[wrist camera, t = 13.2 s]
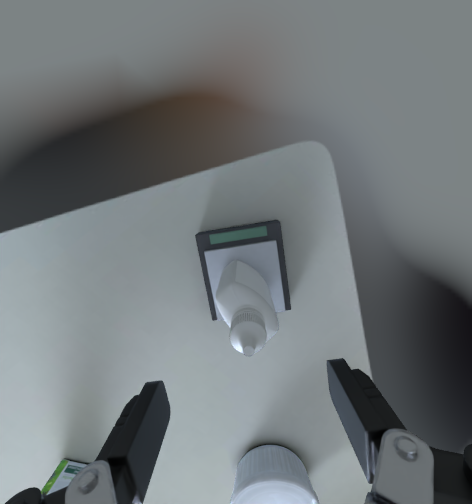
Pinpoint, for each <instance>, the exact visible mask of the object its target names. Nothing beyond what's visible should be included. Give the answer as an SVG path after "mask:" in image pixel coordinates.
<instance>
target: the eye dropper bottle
mask: <svg viewBox="0 0 472 504" xmlns="http://www.w3.org/2000/svg"><path fill="white" fill-rule="evenodd" d="M215 297H216V304H217V307H218V310H219V312H220V314H221V315H222V317H223V319H224V320H225V322H226V323H227V324H228V325H229V327H230V342H231V344H232V345H233V347H234V348H235V349H236V350H237V351H239V352H241V353H244V355H245V356H252V355H253V354H254V353H256V352H258V351H260V350H261V349H262V348H263V347H264V345H265V344H266V341H268V340H269V339H270V338H272V337H273V336H274V335H275V334H276V333H277V331H278V329H279V323H278V318H277V315H276V311H275V307H274V304H273V300H272V297H271V293H270V290H269V288H268V286H267V284H266V282H265V280H264V279H263V277H262V276H261V275H260V274H259V273H258V272H257V271H256V270H255V269H254V268H252V267H251V266H250V265H248V264H246V263H244V262H242V261H239V260H234V261H232V262H231V263H230V264H229V265H227V266H226V267H225V268H224V269H223V271H222V274H221V277H220V280H219V284H218V288H217V292H216V296H215Z"/></svg>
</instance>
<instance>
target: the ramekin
mask: <svg viewBox="0 0 472 504" xmlns="http://www.w3.org/2000/svg"><path fill="white" fill-rule="evenodd" d="M230 504H319V500H318V497H317V495H316V493H315V491H314V490H313V488H312V485H311V482H310V480H309V477H308V474H307V472H306V469H305V466H304V465H303V463H302V461H301V460H300V459H299V458H298V457H297V456H296V455H295V454H294V453H293V452H292V451H290V450H289V449H287V448H284V447H281V446H278V445H263V446H259V447H256V448H254V449H252V450H251V451H249V452H248V453H247V454H246V455H245V456H244V457H243V458H242V459H241V461H240V462H239V464H238V467H237V471H236V477H235V483H234V489H233V493H232V496H231V499H230Z"/></svg>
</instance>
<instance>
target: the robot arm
mask: <svg viewBox="0 0 472 504" xmlns="http://www.w3.org/2000/svg"><path fill="white" fill-rule="evenodd" d="M327 372H328V383H329V391H330V395H331V399H332V401H333V404H334V406H335V408H336V411H337V413H338V415H339V417H340V420H341V422H342V424H343V426H344V429H345V431H346V433H347V435H348V438H349V440H350V442H351V444H352V447H353V449H354V451H355V453H356V456H357V458H358V460H359V463H360V465H361V467H362V469H363V472H364V474H365V476H366V478H367V481H368V483H369V484H373V485H372V490H371V493H370V492H368V494H367V496H366V500H365V504H472V444H471V445H468V446H467V447H466V448H465V450H464V455H463V454H458V453H453V452H448V451H443V450H439V449H435V448H432V447H429V446H428V445H427V444H426V443H425V442H424V441H423V440H422V439H421V438H419V437H418V436H417V435H415V434H413V433H411V432H409V431H407V429H406V428H405V427H404V425H403V424H402V422H401V421H400V420H399V418H398V417H397V415H396V414H395V413H394V411H393V410H392V408H391V407H390V406H389V405H388V403H387V401H386V400H385V399H384V397H383V396H382V394H381V393H380V391H379V390H378V389H377V388H376V386H375V384H374V383H373V382H372V380H371V379H370V377H369V376H368V375H366V374H365V373H364V372H362V371H361V370H359V369H353V370H351V369H350V367H349V366H348V364H347V363H346V361H345V360H344V359H343V358H342V359H334V360H327ZM169 420H170V405H169V401H168V397H167V393H166V390H165V386H164V383H163V381H153V382H147V383H145V385H144V387H143V389H142V390H141V392H140V394H139V395H135V396H134V397H133V398H132V399H131V400H130V401H129V402H128V403H127V404H126V406H125V408H124V409H123V411H122V413H121V415H120V418H118V420H117V422H116V424H115V427H113V429H112V431H111V433H110V435H109V436H108V438H107V440H106V442H105V444H104V445H103V447H102V449H101V451H100V453H99V455H98V456H97V458H96V460H95V461H94V462H92V463H90V464H88V465H87V466H85V467H84V468H82V469H81V470H80V471H79V472H78V473H77V474H76V475H75V476H74V478H73V479H72V480H71V482H70V483H69V485H68V486H67V487H64V488H62V489H60V490H57V491H55V492H53V493H50V494H48V495H46V496H44V497H43V496H42V493H41V491H40V490H39V489H38V488H35V487H34V488H28V489H26V490H23V491H21V492H19V493H18V494H16V495H15V496H13V497H12V498H11V499H10V500H8V501H7V502H6V503H5V504H143V501H144V498H145V495H146V492H147V489H148V485H149V482H150V479H151V476H152V473H153V470H154V467H155V464H156V460H157V457H158V454H159V451H160V448H161V445H162V442H163V439H164V436H165V432H166V429H167V426H168V423H169Z"/></svg>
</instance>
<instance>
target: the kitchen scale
mask: <svg viewBox="0 0 472 504" xmlns="http://www.w3.org/2000/svg"><path fill="white" fill-rule="evenodd" d="M195 236H196V241H197V246H198V251H199V256H200V261H201V266H202V271H203V276H204V281H205V286H206V290H207V295H208V300H209V305H210V310H211V315H212V320H218V321H219V320H224V319H223V317H222V315H221V314H220V312H219V310H218V307H217V304H216V297H215V296H216V292H217V288H218V284H219V280H220V277H221V274H222V271H223V269H224V268H225V267H226V266H227V265H229V264H230V263H231V262H232V261H234V260H239V261H242V262H244V263H246V264H248V265H250V266H251V267H252V268H254V269H255V270H256V271H257V272H258V273H259V274H260V275H261V276H262V277H263V279H264V280H265V282H266V284H267V286H268V288H269V290H270V293H271V297H272V300H273V304H274V307H275V311H276V313H277V312H284V311H286V310H291V304H290V296H289V289H288V281H287V273H286V265H285V257H284V249H283V241H282V234H281V226H280V221H278V220H273V221H267V222H261V223H255V224H249V225H243V226H236V227H230V228H224V229H218V230H212V231H206V232H200V233H198V234H196V235H195Z"/></svg>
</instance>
